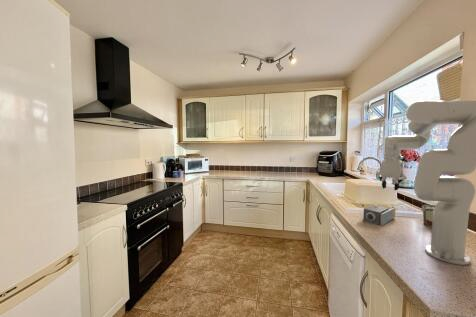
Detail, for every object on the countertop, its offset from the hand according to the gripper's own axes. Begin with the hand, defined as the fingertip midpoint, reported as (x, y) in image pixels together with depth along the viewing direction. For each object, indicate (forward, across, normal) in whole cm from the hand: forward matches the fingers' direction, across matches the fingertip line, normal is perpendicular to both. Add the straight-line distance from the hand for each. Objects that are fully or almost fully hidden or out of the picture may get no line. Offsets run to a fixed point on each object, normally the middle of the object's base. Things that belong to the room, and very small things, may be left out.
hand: (390, 188), depth 121 cm
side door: (+17, -2, +7) cm, 19 cm away
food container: (+18, -17, -8) cm, 26 cm away
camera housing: (+17, +3, +10) cm, 20 cm away
